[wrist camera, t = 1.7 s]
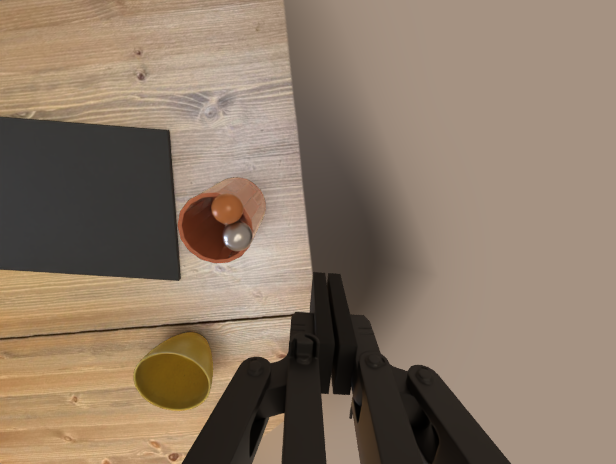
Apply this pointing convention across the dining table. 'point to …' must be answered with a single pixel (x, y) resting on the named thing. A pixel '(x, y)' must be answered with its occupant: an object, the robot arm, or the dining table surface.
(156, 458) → the dining table surface
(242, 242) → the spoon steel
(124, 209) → the mat
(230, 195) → the brown piece
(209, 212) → the spoon cup
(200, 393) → the flower pot
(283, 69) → the dining table surface
